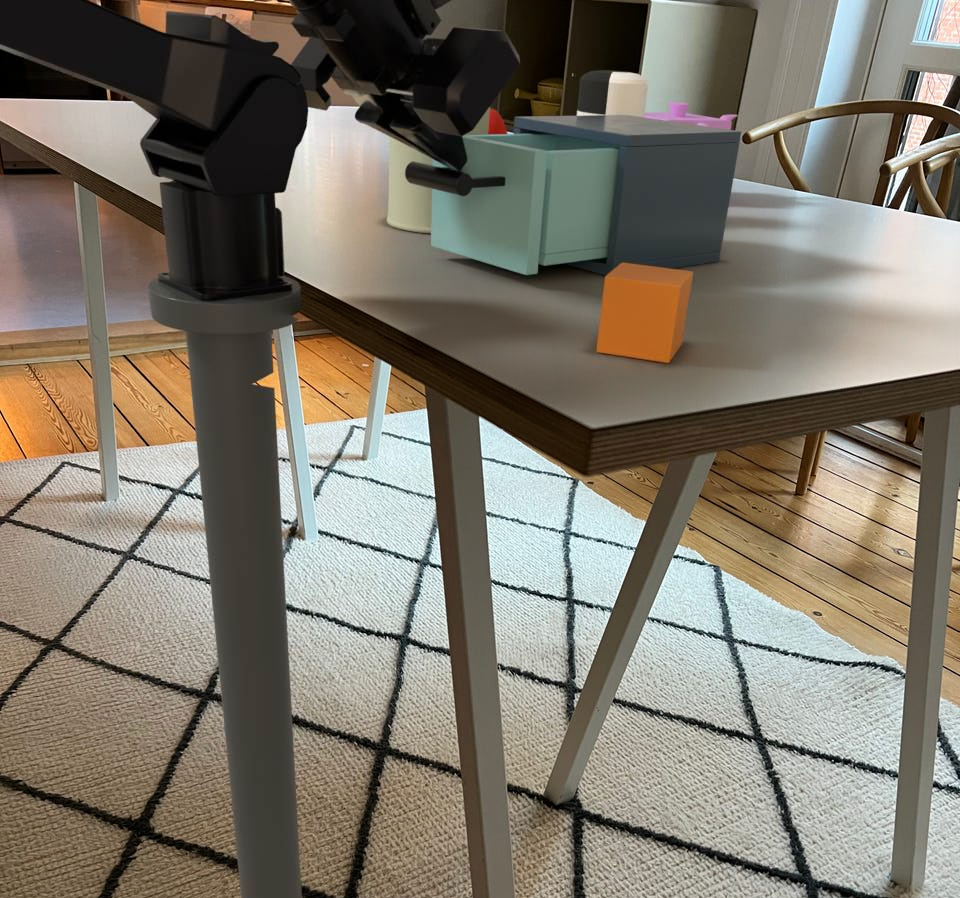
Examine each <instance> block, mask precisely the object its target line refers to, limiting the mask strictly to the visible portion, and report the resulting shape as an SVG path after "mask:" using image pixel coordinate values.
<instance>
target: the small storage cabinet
mask: <svg viewBox="0 0 960 898" xmlns="http://www.w3.org/2000/svg"><path fill="white" fill-rule="evenodd" d="M529 133H549V134H555V135H561V136H566V137H572V138H578V139H584V140H590V141H595V142H601V143H607V144H613V145H619V146H620V150H619V159H618V167H617V176H616V185H615V193H614V202H613V210H612V219H611V227H610V236H609V245H608V253H607V258H599V259H592V260H584V261H577V262H569V263H562V264H564V265H567V266H571V267H574V268H578V269H581V270H585V271H588V272H592V273H595V274H599V275H603V276H606V275H608V274H609V273H610V272H611V271H612V270H614V269H615V268H616V267H617V266H618V265H620V264H621V263H630V264H638V265H646V266H654V267H662V268H669V269H677V268H684V267H690V266H696V265H703V264H710V263H718V262H720V258H721V252H722V247H723V241H724V236H725V229H726V223H727V218H728V212H729V207H730V201H731V195H732V189H733V188H732V187H733V184H734V178H735V171H736V166H737V160H738V155H739V150H740V149H739V148H740V141H741V137H742V131H740V130H734V129H733V130H732V129H731V130H727V129H720V128H713V127H707V126H700V125H693V124H686V123H679V122H672V121H665V120H658V119H652V118H645V117H638V116H631V115H591V116H577V115H540V116H538V115H535V116H534V115H531V116H528V115H527V116H514V122H513V134H529Z"/></svg>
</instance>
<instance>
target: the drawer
mask: <svg viewBox="0 0 960 898" xmlns="http://www.w3.org/2000/svg"><path fill="white" fill-rule="evenodd" d="M462 138H463V142H464V146H465V150H466V154H467V158H468V160H467V163H466V164H465V165H464V167H463V168H462V170H460V171H457V170H452V169H450V168H448V167H447V166H445V165H443V164H441V163H439V162H437V161H435V160H434V159H433V166H432V165H428V164H423V163H419V162H410V163H409V164H408V165H407V167H406V170H405V177H406V179H407V181H408V182H409V183H411V184H415V185H419V186H423V187H427V188H431V189H432V222H431V233H430V247H432V248H435V249H439V250H443V251H446V252H449V253H452V254H456V255H457V256H458V255H459V256H461V257H465V258H468V259H471V260H475V261H478V262H482V263H484V264H487V265H491V266H495V267H498V268H501V269H505V270H508V271H511V272H514V273H517V274H520V275H525V276H530V275H537V274H538V272H539V265H541V266H542V267H543V266H544V267H547V266H554V265H560V264H563V263H569V262H577V261H584V260H592V259H599V258H607V253H608V245H609V236H610V227H611V219H612V210H613V202H614V193H615V185H616V176H617V167H618V159H619V150H620V146H619V145H613V144H607V143H601V142H595V141H590V140H584V139H578V138H572V137H566V136H561V135H555V134H549V133H529V134H514V133H507V134H494V135H463V136H462Z"/></svg>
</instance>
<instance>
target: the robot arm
mask: <svg viewBox="0 0 960 898" xmlns="http://www.w3.org/2000/svg"><path fill="white" fill-rule="evenodd" d="M451 1H452V0H288V2H289V3H290V5H291V6H292V7H293V9H294V10H295V12H296V13H297V14H296V16H295V17H294V18H293V19H292V21H291V22H290V25H292V27H293V28H294V29H295V31H296V32H297V33H298V35H299V36H300V37H301V38H308V40H307V41H306V43H305V44H304V45H303V47H302V48H301V50H300V51H299V53H297V55H296V56H295V58H294V59H293V61H292V62H291V63H289V62H288V61H286V60H284V59H283V58H282V57H280V56H276V55H274V54H275V53H276V52H277V51H278V49H279V48H280V44H279V43H278V42H277V41H272V40H264V39H255V38H252V37H251V36H249V35H247V34H246V33H244V32H242V31H241V30H240V29H238V28H237V27H235V26H234V24H231V23H230V22H228V21H227V20H225V19H223V18H221V17H220V16H218V15H215V14H206V13H205V14H203V13H195V12H194V13H193V12H185V11H184V12H183V11H172V10H167V11H166V12H165V32H163V31H160V30H158V29H156V28H153V27H151V26H149V25H147V24H144V23H141V22H139V21H137V20H135V19H133V18H131V17H128V16H126V15H123V14H121V13H119V12H117V11H114V10H112V9H110V8H107V7H105V6H103V5H100V4H98V3H96V2H94V1H91V0H0V50H2V51H5V52H7V53H10V54H12V55H15V56H18V57H21V58H24V59H26V60H29V61H31V62H34V63H36V64H39V65H42V66H45V67H47V68H50V69H53V70H55V71H58V72H61V73H63V74H65V75H68V76H71V77H73V78H76V79H79V80H82V81H85V82H87V83H90V84H92V85H94V86H98V87H100V88H102V89H106V90H108V91H111V92H114V93H116V94H119V95H122V96H124V97H125V98H126V99H128V100H130V101H132V102H133V103H135V104H136V105H137V106H139V107H140V108H141V109H143V110H144V111H145V112H146V113H148V114H149V115H151V116H152V117H154V118H155V120H154V121H153V123H152V124H151V126H150V127H149V128H148V130H147V131H146V132H145V133H144V135H143V136H142V137H141V139H140V142H139V145H140V149H141V151H142V153H143V156H144V158H145V160H146V163H147V165H148V167H149V169H150V172H151V175H153V176H154V177H158V178H165V179H167V180H168V179H169V180H171V181H162V182H159V192H160V200H161V201H160V202H161V211H162V222H163V229H164V230H163V231H164V240H165V249H166V250H165V251H166V258H167V259H166V260H167V269H168V270H167V271H163V272H158V273H157V278H158V281H160V282H162V283H164V284H166V285H168V286H170V287H172V288H175V289H177V290H179V291H181V292H183V293H185V294H187V295H190V296H192V297H194V298H196V299H198V300H201V301H215V300H223V299H231V298H239V297H247V296H254V295H262V294H270V293H278V292H286V291H291V290H292V283H291V282H289V281H287V280H284V279H282V278H279V277H282V276H284V274H285V253H284V252H285V251H284V232H283V231H284V230H283V212H282V211H281V209H280V208H279V207H276V194H283V193H285V192H286V190H287V186H288V183H289V178H290V175H291V170H292V166H293V162H294V159H295V155H296V151H297V148H298V146H300V144H301V143H302V141H303V138H304V135H305V132H306V130H307V127H308V117H309V108H310V109H315V110H320V111H326V112H327V111H328V110H329V108H330V107H331V105H332V97H331V94H329V92H328V91H327V90H326V88H325V87H324V85H325V84H327V83H328V82H329V80H330V79H331V78H332V80H333V81H334V82H335V84H336V85H337V86H338V88H339V89H341V91H342V93H343V94H344V95H347V96H351V97H352V98H353V100H354V101H355V102H356V103H357V105H358V106H359V107H358V108H357V110H356V111H355V114H354V119H355V120H356V121H357V122H358V123H360V124H364V125H366V126H368V127H370V128H372V129H374V130H376V131H378V132H380V133H382V134H384V135H386V136H388V137H389V136H390V137H392V138H394V139H396V140H398V141H399V142H401V143H403V144H405V145H407V146H409V147H411V148H413V149H415V150H417V151H419V152H420V153H422V154H424V155H426V156H428V157H430V158H432V159H434V160H435V161H437V162H439V163H441V164H443V165H445V166H447V167H448V168H450V169H452V170H457V171H460V170H462V168H463V167H464V165H465V164H466V163H467V160H468V158H467V154H466V150H465V146H464V142H463V138H462V136H463V135H465V134H467V133H469V132H471V131H472V130H473V129H474V128H475V126H476V125H477V124H478V122H479V121H480V119H481V118H482V117H483V115H484V114H485V112H486V111H487V110H488V108H489V107H490V108H491V105H492V104H493V103H494V101H495V100H496V99H497V97H498V96H499V94H500V93H501V91H502V90H503V89H504V87H505V86H506V84H507V83H508V82H509V81H510V79H511V78H512V76H513V75H514V73H515V72H516V71H517V69H518V68H519V66H520V65H521V60H520V54H519V53H518V51H517V49H516V47H515V46H514V45H513V43H512V40H511V39H510V37H509V35H508V33H507V32H506V30H498V29H487V28H475V27H458V26H455V27H452V29H451V30H450V31H449V33H447V36H446V37H445V38H436V37H426V36H431V35H433V33H434V31H435V30H436V29H437V28H438V26H439V25H440V23H441V22H442V19H441V17H440V16H439V14H438V12H437V11H436V10H438V9H439V8H442V7H443V6H444V5H447V4H448V3H450V2H451ZM425 37H426V38H425Z"/></svg>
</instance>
